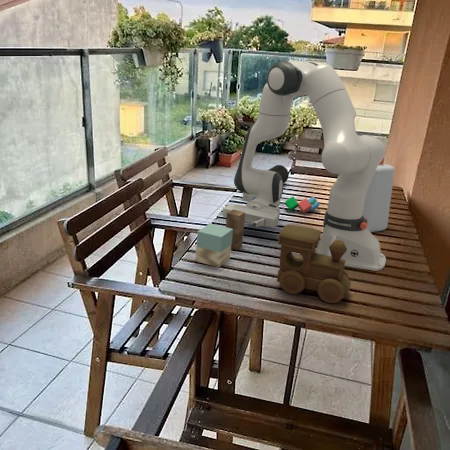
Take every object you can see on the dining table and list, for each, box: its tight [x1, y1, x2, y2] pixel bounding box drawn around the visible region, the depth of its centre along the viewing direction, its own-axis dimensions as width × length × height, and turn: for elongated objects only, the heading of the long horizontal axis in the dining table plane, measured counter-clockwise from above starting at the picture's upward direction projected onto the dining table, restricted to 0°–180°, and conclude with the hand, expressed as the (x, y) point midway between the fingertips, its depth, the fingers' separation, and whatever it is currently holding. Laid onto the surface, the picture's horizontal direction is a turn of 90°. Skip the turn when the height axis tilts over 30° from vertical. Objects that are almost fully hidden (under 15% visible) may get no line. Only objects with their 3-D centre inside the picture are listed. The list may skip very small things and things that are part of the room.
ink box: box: [242, 193, 258, 202], centre depth 197 cm, size 9×5×12 cm, turn 58°
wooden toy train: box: [276, 223, 352, 304], centre depth 121 cm, size 20×11×17 cm, turn 68°
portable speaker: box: [267, 164, 289, 184], centre depth 219 cm, size 26×10×10 cm, turn 155°
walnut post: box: [225, 210, 245, 251], centre depth 147 cm, size 4×4×12 cm
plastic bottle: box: [362, 157, 395, 233], centre depth 172 cm, size 15×15×28 cm
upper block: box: [196, 223, 233, 252], centre depth 136 cm, size 8×8×5 cm
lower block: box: [195, 245, 232, 268], centre depth 138 cm, size 8×8×5 cm
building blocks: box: [284, 196, 320, 214], centre depth 189 cm, size 8×8×12 cm
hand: (242, 221), depth 152 cm, fingers open, 8 cm apart
